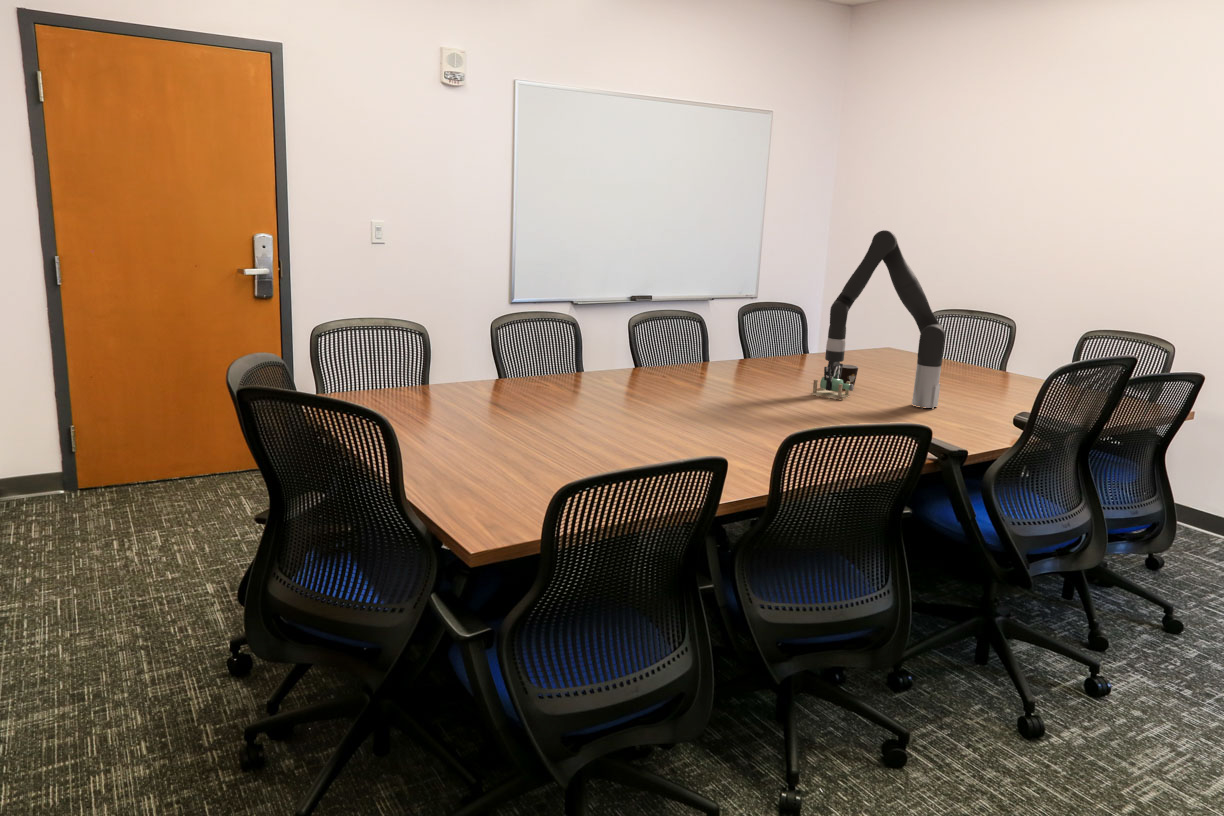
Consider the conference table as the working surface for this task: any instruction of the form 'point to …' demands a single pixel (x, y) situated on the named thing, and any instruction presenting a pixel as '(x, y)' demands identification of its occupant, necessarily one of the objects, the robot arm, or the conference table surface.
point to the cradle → (830, 392)
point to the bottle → (836, 385)
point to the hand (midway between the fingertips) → (831, 389)
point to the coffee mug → (849, 373)
